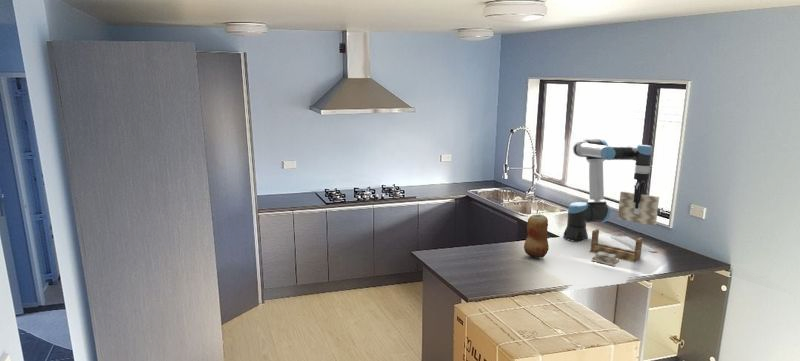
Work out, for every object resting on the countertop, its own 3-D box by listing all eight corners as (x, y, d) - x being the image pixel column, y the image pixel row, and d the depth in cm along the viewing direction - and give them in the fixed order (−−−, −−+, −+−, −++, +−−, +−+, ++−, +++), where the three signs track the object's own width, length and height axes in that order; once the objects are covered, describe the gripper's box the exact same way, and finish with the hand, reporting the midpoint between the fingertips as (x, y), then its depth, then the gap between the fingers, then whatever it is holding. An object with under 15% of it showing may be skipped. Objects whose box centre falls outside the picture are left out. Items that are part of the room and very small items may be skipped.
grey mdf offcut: (595, 258, 284) (596, 253, 283) (599, 255, 288) (599, 251, 288) (612, 261, 278) (612, 257, 278) (615, 259, 283) (616, 254, 282)
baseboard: (639, 254, 303) (657, 253, 305) (639, 249, 302) (657, 248, 304) (609, 238, 333) (626, 238, 335) (610, 234, 332) (626, 234, 334)
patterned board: (617, 218, 295) (620, 192, 292) (619, 218, 297) (622, 191, 294) (654, 225, 282) (657, 197, 279) (655, 224, 284) (659, 196, 281)
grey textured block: (592, 262, 285) (592, 257, 285) (596, 259, 290) (597, 254, 290) (614, 267, 277) (614, 262, 277) (618, 264, 283) (618, 259, 282)
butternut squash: (518, 257, 289) (521, 214, 285) (530, 252, 299) (533, 211, 295) (541, 263, 280) (544, 219, 276) (552, 257, 290) (555, 215, 285)
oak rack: (588, 254, 298) (590, 231, 296) (596, 249, 307) (598, 228, 305) (634, 264, 281) (637, 241, 279) (641, 259, 290) (644, 237, 288)
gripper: (644, 175, 276) (639, 216, 281) (653, 172, 288) (648, 212, 292) (630, 173, 281) (625, 214, 286) (639, 170, 293) (634, 210, 297)
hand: (637, 213), depth 289 cm, fingers closed on patterned board, 2 cm apart
